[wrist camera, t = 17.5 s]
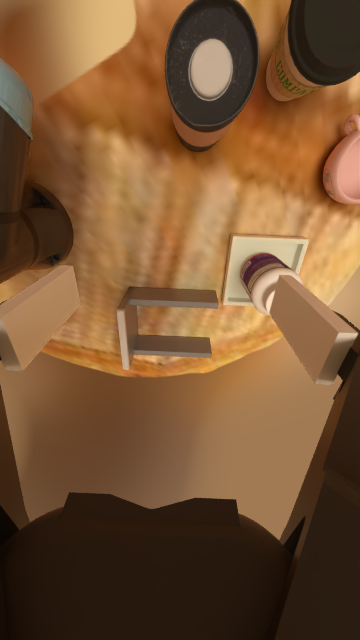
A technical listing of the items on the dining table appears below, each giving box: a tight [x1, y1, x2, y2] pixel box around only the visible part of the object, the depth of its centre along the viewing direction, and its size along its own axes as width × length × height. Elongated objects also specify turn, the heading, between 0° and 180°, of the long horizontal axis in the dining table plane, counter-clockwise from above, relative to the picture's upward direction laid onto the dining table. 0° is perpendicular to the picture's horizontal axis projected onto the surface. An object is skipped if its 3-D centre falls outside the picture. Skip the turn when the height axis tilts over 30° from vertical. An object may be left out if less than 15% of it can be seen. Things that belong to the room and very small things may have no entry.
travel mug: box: [165, 0, 259, 152], centre depth 27 cm, size 8×8×20 cm
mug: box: [323, 114, 360, 204], centre depth 35 cm, size 12×10×6 cm
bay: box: [117, 287, 219, 370], centre depth 48 cm, size 18×13×11 cm
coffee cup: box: [266, 0, 360, 101], centre depth 26 cm, size 10×10×15 cm
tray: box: [221, 234, 309, 306], centre depth 46 cm, size 14×14×2 cm
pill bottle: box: [240, 252, 304, 316], centre depth 40 cm, size 8×8×14 cm
